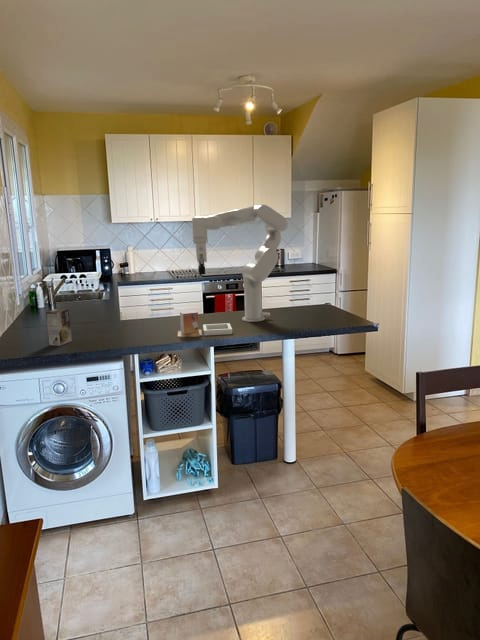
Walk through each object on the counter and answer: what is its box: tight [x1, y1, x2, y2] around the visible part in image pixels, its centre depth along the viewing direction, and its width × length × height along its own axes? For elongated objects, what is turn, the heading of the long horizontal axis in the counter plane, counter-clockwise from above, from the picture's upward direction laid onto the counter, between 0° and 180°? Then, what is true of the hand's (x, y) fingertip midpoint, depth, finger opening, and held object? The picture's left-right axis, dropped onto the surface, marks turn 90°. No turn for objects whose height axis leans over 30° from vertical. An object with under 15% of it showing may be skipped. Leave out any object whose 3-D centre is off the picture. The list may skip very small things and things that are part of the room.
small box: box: [179, 310, 200, 334], centre depth 243 cm, size 8×6×10 cm
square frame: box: [202, 322, 233, 336], centre depth 247 cm, size 14×14×2 cm
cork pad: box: [177, 329, 203, 338], centre depth 244 cm, size 12×12×1 cm
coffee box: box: [45, 308, 73, 347], centre depth 232 cm, size 9×6×16 cm
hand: (201, 273), depth 256 cm, fingers open, 9 cm apart
